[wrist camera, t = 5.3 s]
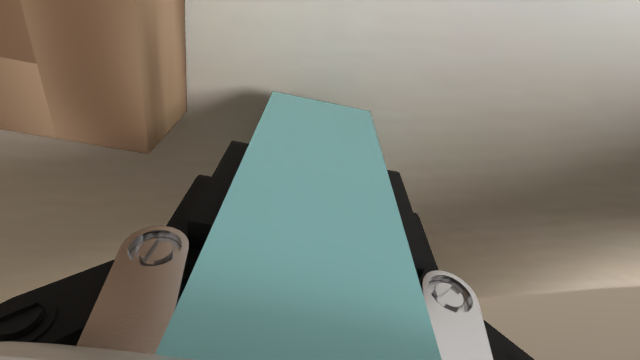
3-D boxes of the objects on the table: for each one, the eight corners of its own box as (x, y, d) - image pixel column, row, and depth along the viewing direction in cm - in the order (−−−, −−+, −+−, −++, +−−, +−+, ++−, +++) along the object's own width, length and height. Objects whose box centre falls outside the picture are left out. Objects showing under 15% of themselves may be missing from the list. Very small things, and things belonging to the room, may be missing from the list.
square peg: (369, 111, 13) (463, 434, 4) (346, 189, 15) (372, 517, 6) (272, 91, 13) (135, 397, 4) (262, 174, 15) (159, 498, 6)
